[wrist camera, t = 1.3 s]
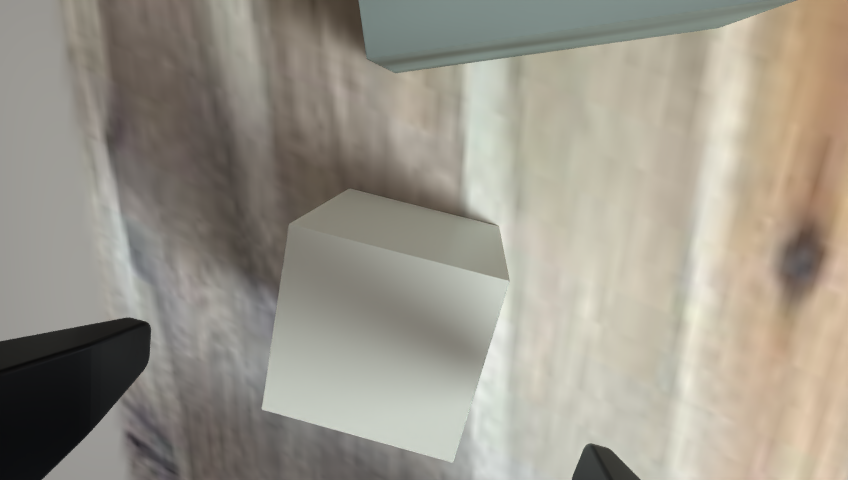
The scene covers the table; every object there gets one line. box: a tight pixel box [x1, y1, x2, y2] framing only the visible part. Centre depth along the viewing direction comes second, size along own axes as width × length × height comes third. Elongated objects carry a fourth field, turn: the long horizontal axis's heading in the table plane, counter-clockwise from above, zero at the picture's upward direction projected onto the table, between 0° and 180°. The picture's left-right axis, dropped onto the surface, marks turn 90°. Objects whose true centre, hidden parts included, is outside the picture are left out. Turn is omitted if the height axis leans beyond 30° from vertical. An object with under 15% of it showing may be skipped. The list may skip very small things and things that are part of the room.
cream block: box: [262, 188, 510, 463], centre depth 13 cm, size 5×5×5 cm
